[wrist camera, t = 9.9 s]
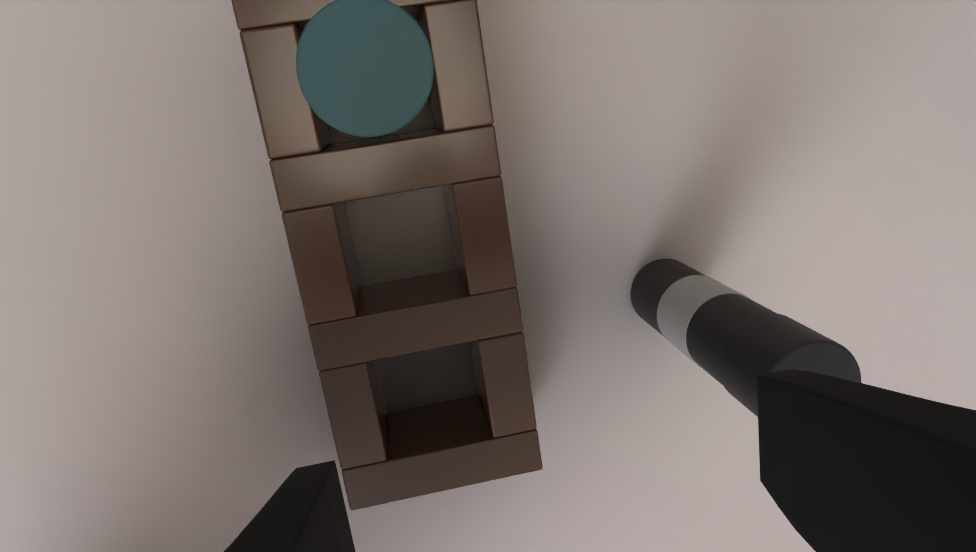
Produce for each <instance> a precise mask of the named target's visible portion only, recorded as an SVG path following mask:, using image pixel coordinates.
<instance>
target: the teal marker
mask: <svg viewBox="0 0 976 552" xmlns="http://www.w3.org/2000/svg"><path fill="white" fill-rule="evenodd" d="M296 72H297V78H298V82H299V85H300V88H301V91H302V93H303V96H304V97H305V99H306V101H307V103H308V104H309V106H310V107H311V108H312V110H313V111H314V112H315V113H316V114H317V115H318V116H319V117H320V118H321V119H322V120H323V121H324V122H326V123H327V124H328V125H330V126H331V127H333V128H335V129H337V130H339V131H341V132H343V133H346V134H349V135H352V136H358V137H380V136H384V135H388V134H391V133H393V132H396V131H398V130H400V129H401V128H403V127H405V126H406V125H407V124H409V123H410V122H411V121H412V120H413V119H414V118H415V117H416V116H417V115H418V114H419V113H420V111H421V110H422V109H423V107H424V105H425V104H426V102H427V100H428V97H429V95H430V92H431V88H432V85H433V78H434V62H433V56H432V51H431V48H430V45H429V42H428V40H427V38H426V36H425V34H424V32H423V30H422V29H421V27H420V26H419V24H418V23H417V22H416V21H415V20H414V19H413V17H412V16H411V15H409V14H408V13H407V12H406V11H405V10H403V9H402V8H401V7H399V6H398V5H396V4H394V3H392V2H390V1H388V0H335V1H333V2H331V3H329V4H328V5H326V6H325V7H323V8H322V9H320V10H319V11H318V12H317V13H316V14H315V15H314V16H313V17H312V18H311V20H310V21H309V22H308V24H307V25H306V27H305V29H304V30H303V32H302V35H301V37H300V40H299V43H298V47H297V53H296Z"/></svg>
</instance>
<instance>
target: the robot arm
mask: <svg viewBox="0 0 976 552" xmlns="http://www.w3.org/2000/svg"><path fill="white" fill-rule="evenodd" d="M757 395H758V424H759V453H760V481H761V482H762V483H763V485H764V486H765V488H766V489H767V491H768V492H769V494H770V495H771V497H772V498H773V499H774V501H775V502H776V504H777V505H778V507H779V508H780V509H781V511H782V512H783V513H784V515H785V516H786V518H787V519H788V520H789V522H790V523H791V524H792V526H793V527H794V528H795V529H796V531H797V532H798V533H799V534H800V535H801V536H802V537H803V538H804V539H805V540H806V542H807V543H808V544H809V545H810V546H811V547H812V548H813V549H814V550H815V551H816V552H976V410H971V409H967V408H962V407H957V406H953V405H948V404H944V403H940V402H935V401H931V400H927V399H923V398H919V397H914V396H910V395H906V394H902V393H898V392H894V391H890V390H886V389H882V388H878V387H874V386H870V385H866V384H862V383H858V382H854V381H850V380H846V379H842V378H838V377H834V376H829V375H825V374H820V373H815V372H810V371H804V370H796V369H787V370H782V371H777V372H772V373H767V374H762V375H757ZM224 552H355V548H354V543H353V539H352V535H351V530H350V526H349V521H348V517H347V512H346V508H345V503H344V499H343V494H342V490H341V486H340V481H339V477H338V472H337V468H336V463H335V460H334V461H329V462H325V463H320V464H315V465H310V466H305V467H300V468H296V469H295V470H294V471H293V472H292V473H291V474H290V476H289V477H288V478H287V479H286V480H285V481H284V483H283V484H282V485H281V486H280V487H279V489H278V490H277V491H276V492H275V493H274V495H273V496H272V497H271V498H270V499H269V501H268V502H267V503H266V504H265V505H264V507H263V508H262V509H261V510H260V511H259V512H258V514H257V515H256V516H255V517H254V518H253V519H252V521H251V522H250V523H249V524H248V525H247V526H246V528H245V529H244V530H243V531H242V532H241V533H240V534H239V536H238V537H237V538H236V539H235V540H234V541H233V542H232V544H231V545H230V546H229V547H228V548H227V549H226V550H225V551H224Z"/></svg>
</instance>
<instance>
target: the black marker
mask: <svg viewBox="0 0 976 552" xmlns="http://www.w3.org/2000/svg"><path fill="white" fill-rule="evenodd" d="M631 301H632V305H633V307H634V309H635V311H636V313H637V314H638V315H639V316H640V317H641V318H642V319H644V320H645V321H646V322H647V323H648V324H650V325H651V326H652V327H653V328H655V329H656V330H657V331H658V332H659V333H661V334H662V335H663V336H664V337H665V338H666V339H667V340H668V341H669V342H670V343H672V344H673V345H674V346H675V347H676V348H678V349H679V350H680V351H681V352H682V353H684V354H685V355H686V356H687V357H688V358H690V359H691V360H692V361H693V362H694V363H696V364H697V365H698V366H700V367H701V368H703V369H704V370H705V371H707V372H708V373H709V374H710V375H711V376H713V377H714V378H715V379H716V380H717V381H719V382H720V383H721V384H722V385H723V386H724V387H725V389H726V390H727V391H728V392H729V393H730V394H731V395H732V396H733V397H735V398H736V399H737V400H738V401H739V402H741V403H742V404H743V405H744V406H745V407H747V408H748V409H749V410H750V411H751V412H753V413H754V414H755V415H756V416H757V417H758V395H757V375H762V374H767V373H772V372H777V371H782V370H787V369H796V370H804V371H810V372H815V373H820V374H825V375H829V376H834V377H838V378H842V379H846V380H850V381H854V382H858V383H861V374H860V369H859V366H858V364H857V362H856V360H855V358H854V356H853V355H852V354H851V353H850V352H849V351H848V350H847V349H846V348H845V347H843V346H842V345H840V344H838V343H837V342H835V341H833V340H831V339H829V338H827V337H825V336H823V335H821V334H819V333H817V332H816V331H814V330H812V329H810V328H808V327H806V326H804V325H802V324H800V323H798V322H796V321H795V320H793V319H791V318H789V317H787V316H784V315H781V314H777V313H775V312H773V311H771V310H769V309H767V308H765V307H764V306H762V305H760V304H758V303H756V302H754V301H752V300H751V299H749V298H748V297H746V296H744V295H743V294H741V293H739V292H737V291H735V290H733V289H731V288H729V287H727V286H726V285H724V284H722V283H720V282H718V281H716V280H714V279H712V278H710V277H707V276H705V275H703V274H701V273H699V272H698V271H696V270H694V269H692V268H690V267H688V266H686V265H684V264H683V263H681V262H678V261H676V260H672V259H661V260H657V261H654V262H652V263H650V264H648V265H647V266H645V267H644V268H643V269H642V270H641V271H640V272H639V273H638V275H637V276H636V278H635V280H634V282H633V285H632V289H631Z"/></svg>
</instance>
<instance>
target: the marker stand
mask: <svg viewBox="0 0 976 552" xmlns="http://www.w3.org/2000/svg"><path fill="white" fill-rule="evenodd" d="M333 1H335V0H232V5H233V9H234V13H235V18H236V22H237V26H238V29H239V30H241V31H240V38H241V42H242V46H243V51H244V55H245V59H246V64H247V68H248V72H249V76H250V81H251V85H252V89H253V94H254V98H255V102H256V106H257V111H258V115H259V119H260V124H261V128H262V132H263V136H264V141H265V145H266V149H267V154H268V157H269V158H270V159H272V160H270V162H269V163H270V167H271V172H272V176H273V180H274V184H275V189H276V193H277V197H278V202H279V206H280V210H281V212H283V213H282V218H283V223H284V227H285V231H286V236H287V240H288V244H289V248H290V253H291V257H292V261H293V266H294V270H295V274H296V278H297V283H298V287H299V291H300V296H301V300H302V304H303V308H304V313H305V317H306V321H307V324H309V325H308V330H309V335H310V339H311V343H312V347H313V352H314V356H315V360H316V365H317V369H318V370H319V377H320V381H321V385H322V390H323V394H324V398H325V403H326V407H327V411H328V415H329V420H330V424H331V428H332V433H333V437H334V441H335V445H336V450H337V454H338V458H339V463H340V467H341V468H342V476H343V480H344V485H345V489H346V493H347V498H348V502H349V506H350V509H351V510H356V509H360V508H365V507H370V506H374V505H379V504H384V503H388V502H393V501H397V500H402V499H407V498H411V497H416V496H421V495H425V494H430V493H435V492H439V491H444V490H448V489H453V488H458V487H462V486H467V485H472V484H476V483H481V482H486V481H490V480H495V479H500V478H504V477H509V476H513V475H518V474H523V473H527V472H532V471H537V470H541V469H542V460H541V453H540V446H539V439H538V432H537V429H536V427H537V426H536V419H535V412H534V404H533V397H532V390H531V383H530V376H529V369H528V362H527V355H526V348H525V341H524V334H523V332H522V331H523V326H522V318H521V311H520V304H519V297H518V290H517V287H516V286H517V283H516V276H515V269H514V261H513V254H512V247H511V240H510V233H509V226H508V219H507V212H506V205H505V198H504V190H503V183H502V177H501V176H500V175H501V170H500V163H499V155H498V148H497V141H496V134H495V127H494V125H492V124H493V123H494V120H493V113H492V106H491V99H490V92H489V85H488V78H487V71H486V63H485V56H484V49H483V42H482V35H481V28H480V21H479V14H478V7H477V0H388V1H390V2H392V3H394V4H396V5H398V6H399V7H401V8H402V9H403V10H405V11H406V12H407V13H408V14H409V15H411V16H412V17H413V19H414V20H418V24H419V26H420V27H421V29H422V30H423V32H424V34H425V36H426V38H427V40H428V42H429V45H430V48H431V51H432V56H433V62H434V78H433V85H432V88H431V92H430V101H431V107H432V113H433V119H434V125H435V128H437V129H430V130H424V131H418V132H411V133H405V134H399V135H392V136H386V137H379V138H373V139H367V140H360V141H354V142H348V143H341V144H335V145H330V144H331V140H330V135H329V130H328V125H327V123H326V122H324V121H323V120H322V119H321V118H320V117H319V116H318V115H317V114H316V113H315V112H314V111H313V110H312V108H311V107H310V106H309V104H308V103H307V101H306V99H305V97H304V96H303V93H302V91H301V88H300V85H299V82H298V78H297V72H296V53H297V47H298V43H299V40H300V37H301V35H302V32H303V30H304V29H305V27H306V25H307V24H308V22H309V21H310V20H311V18H312V17H313V16H314V15H315V14H316V13H317V12H318V11H319V10H320V9H322V8H323V7H325V6H326V5H328V4H329V3H331V2H333ZM443 185H444V186H445V192H446V198H447V205H448V211H449V217H450V223H451V229H452V235H453V241H454V247H455V253H456V259H457V265H458V269H459V270H454V271H449V272H443V273H438V274H432V275H427V276H421V277H416V278H410V279H405V280H399V281H393V282H388V283H382V284H377V285H371V286H366V287H361V284H360V279H359V275H358V270H357V265H356V260H355V255H354V250H353V246H352V241H351V236H350V231H349V226H348V221H347V217H346V212H345V207H344V202H347V201H353V200H359V199H365V198H371V197H377V196H383V195H389V194H395V193H401V192H407V191H413V190H419V189H425V188H431V187H437V186H443ZM466 342H470V344H471V350H472V356H473V362H474V368H475V374H476V380H477V386H478V393H479V396H476V397H471V398H466V399H461V400H456V401H451V402H446V403H441V404H436V405H431V406H426V407H421V408H416V409H411V410H406V411H401V412H396V413H391V414H387V410H386V405H385V401H384V396H383V391H382V386H381V381H380V376H379V371H378V367H377V362H376V360H378V359H383V358H389V357H394V356H399V355H404V354H409V353H415V352H420V351H425V350H430V349H435V348H440V347H446V346H451V345H456V344H461V343H466Z"/></svg>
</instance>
